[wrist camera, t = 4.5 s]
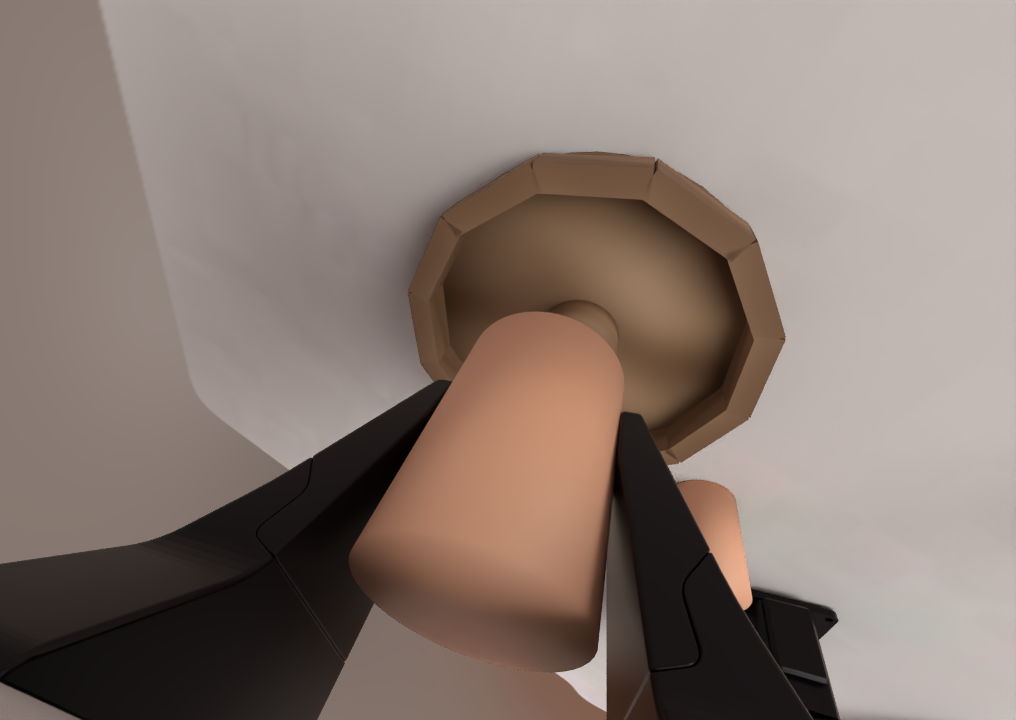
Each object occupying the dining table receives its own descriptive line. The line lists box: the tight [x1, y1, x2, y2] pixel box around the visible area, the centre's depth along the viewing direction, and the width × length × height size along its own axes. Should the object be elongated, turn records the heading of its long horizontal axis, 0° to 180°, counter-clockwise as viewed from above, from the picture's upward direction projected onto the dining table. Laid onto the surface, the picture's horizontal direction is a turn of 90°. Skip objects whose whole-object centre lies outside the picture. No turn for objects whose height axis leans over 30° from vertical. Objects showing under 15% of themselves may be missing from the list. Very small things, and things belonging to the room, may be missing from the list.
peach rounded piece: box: [349, 311, 624, 672], centre depth 8 cm, size 4×4×6 cm
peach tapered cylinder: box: [677, 480, 752, 610], centre depth 23 cm, size 4×4×6 cm
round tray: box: [408, 152, 786, 465], centre depth 19 cm, size 15×15×2 cm
